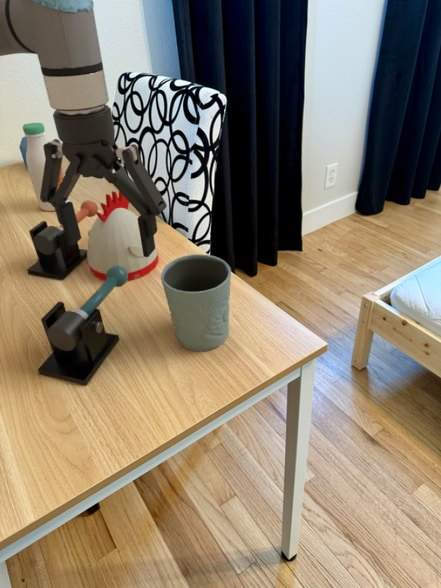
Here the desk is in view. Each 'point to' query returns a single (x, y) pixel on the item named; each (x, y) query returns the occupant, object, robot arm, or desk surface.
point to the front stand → (78, 349)
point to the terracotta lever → (48, 237)
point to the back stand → (56, 257)
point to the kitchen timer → (118, 241)
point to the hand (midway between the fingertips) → (111, 247)
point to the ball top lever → (83, 312)
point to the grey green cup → (198, 300)
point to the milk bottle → (38, 160)
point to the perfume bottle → (24, 148)
